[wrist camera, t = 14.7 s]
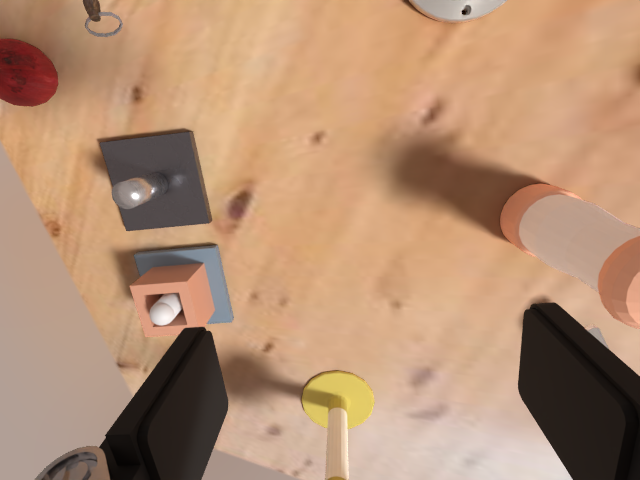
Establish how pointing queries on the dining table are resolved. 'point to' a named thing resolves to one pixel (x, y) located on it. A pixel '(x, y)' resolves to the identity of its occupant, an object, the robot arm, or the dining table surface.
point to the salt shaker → (578, 244)
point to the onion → (25, 74)
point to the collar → (173, 280)
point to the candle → (337, 413)
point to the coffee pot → (98, 17)
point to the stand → (157, 181)
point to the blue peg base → (171, 302)
